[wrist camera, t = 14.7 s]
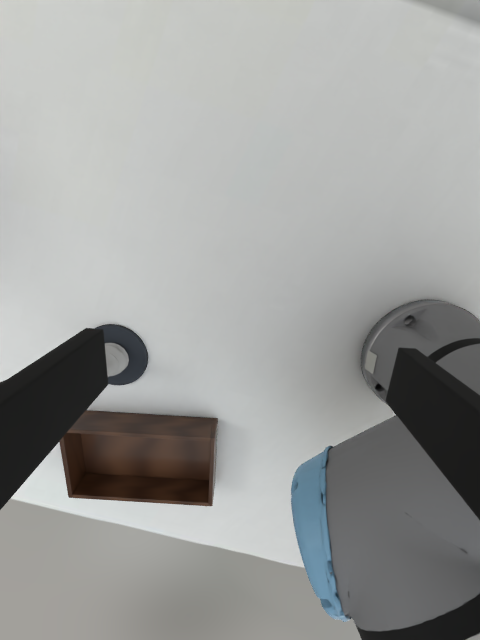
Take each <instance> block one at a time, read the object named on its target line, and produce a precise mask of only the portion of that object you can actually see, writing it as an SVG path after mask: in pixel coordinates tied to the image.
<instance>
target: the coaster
mask: <svg viewBox="0 0 480 640" xmlns="http://www.w3.org/2000/svg"><path fill="white" fill-rule="evenodd" d="M95 329H103V331H104V342H105V343H115V344H118V345H120V346H121V347H122V348H124V349H125V351H126V352H127V354H128V358H129V362H128V366H127V367H126V368H125V369H124V370H123V371H122V372H121V373H119V374H117V375H115V376H109V377H108V384H112V385H125V384H129V383H132V382H134V381H136V380H137V379H138V378H139V377H141V375H142V374H143V373H144V371H145V369H146V367H147V363H148V354H147V350H146V347H145V345H144V343H143V342H142V340H141V339H140V338H139V337H138V336H137V335H136V334H135V333H134V332H133V331H131V330H129V329H128V328H125V327H123V326H119V325H111V324H109V325H102V326H99V327H97V328H95Z"/></svg>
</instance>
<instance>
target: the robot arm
mask: <svg viewBox="0 0 480 640" xmlns="http://www.w3.org/2000/svg"><path fill="white" fill-rule="evenodd" d="M361 366H362V372H363V375H364V378H365V380H366V382H367V383H368V385H369V386H370V387H371V389H372V390H373V391H374V393H375V394H376V395H377V396H378V397H379V398H380V399H381V400H382V401H384V402H385V403H387V404H388V405H389V406H390V408H391V409H392V410H393V411H394V413H395V414H396V416H394V417H392V418H390V419H388V420H386V421H384V422H382V423H380V424H378V425H376V426H374V427H372V428H370V429H368V430H366V431H364V432H362V433H360V434H358V435H356V436H354V437H352V438H350V439H348V440H346V441H344V442H342V443H340V444H338V445H336V446H334V447H333V446H329V447H327V448H325V450H324V452H322V453H320V454H319V455H317V456H315V457H313V458H312V459H310V460H308V461H306V462H305V463H303V464H302V465H301V466H300V467H299V468H298V469H297V470H296V472H295V475H294V477H293V481H292V488H291V495H292V498H291V504H292V514H293V521H294V527H295V532H296V537H297V541H298V545H299V549H300V553H301V556H302V560H303V563H304V566H305V569H306V572H307V575H308V578H309V580H310V583H311V585H312V587H313V590H314V592H315V594H316V595H317V597H319V598H320V600H321V604H322V607H323V608H324V610H325V611H326V612H327V614H328V615H329V616H331V617H332V618H333V619H339V620H342V621H343V622H344V621H348V620H350V619H351V618H352V619H353V620H354V622H355V624H356V627H357V629H358V631H359V633H360V636H361V638H362V640H480V321H479V320H478V319H477V318H476V317H475V316H474V315H473V314H471V313H470V312H468V311H467V310H465V309H463V308H460V307H458V306H455V305H453V304H450V303H447V302H444V301H438V300H421V301H416V302H412V303H408V304H405V305H403V306H401V307H399V308H397V309H395V310H393V311H391V312H390V313H389V314H387V315H386V316H385V317H383V318H382V319H381V320H380V321H379V322H378V323H377V324H376V325H375V326H374V328H373V329H372V330H371V332H370V333H369V335H368V337H367V339H366V341H365V344H364V346H363V350H362V356H361ZM107 385H108V375H107V364H106V353H105V342H104V331H103V329H90V328H86V329H84V330H83V331H81V332H80V333H78V334H76V335H75V336H73V337H72V338H70V339H69V340H67V341H66V342H64V343H63V344H61V345H60V346H58V347H57V348H55V349H53V350H52V351H50V352H49V353H47V354H46V355H44V356H43V357H41V358H40V359H38V360H37V361H35V362H34V363H32V364H30V365H29V366H27V367H26V368H24V369H23V370H21V371H20V372H18V373H17V374H15V375H14V376H12V377H11V378H9V379H7V380H5V381H3V382H0V509H1V508H2V507H3V506H4V505H5V504H6V503H7V502H8V500H9V499H10V498H11V497H12V496H13V495H14V493H15V492H16V491H17V490H18V489H19V488H20V486H21V485H22V484H23V483H24V482H25V481H26V479H27V478H28V477H29V476H30V475H31V474H32V472H33V471H34V470H35V469H36V468H37V467H38V465H39V464H40V463H41V462H42V461H43V460H44V458H45V457H46V456H47V455H48V454H49V453H50V451H51V450H52V449H53V448H54V447H55V446H56V444H57V443H58V442H59V441H60V440H61V439H62V437H63V436H64V435H65V434H66V433H67V432H68V430H69V429H70V428H71V427H72V426H73V425H74V423H75V422H76V421H77V420H78V419H79V418H80V416H81V415H82V414H83V413H84V412H85V411H86V410H87V408H88V407H89V406H90V405H91V404H92V403H93V401H94V400H95V399H96V398H97V397H98V396H99V394H100V393H101V392H102V391H103V390H104V389H105V387H106V386H107Z"/></svg>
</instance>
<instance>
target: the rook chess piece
mask: <svg viewBox="0 0 480 640" xmlns="http://www.w3.org/2000/svg"><path fill="white" fill-rule="evenodd" d="M105 353H106V364H107V375H108V377H109V376H115V375H117V374H119V373H121V372H122V371H123V370H124V369H125V368H126V367H127V366H128V362H129V358H128V354H127V352H126V351H125V349H124V348H122V347H121V346H120V345H118V344H115V343H105Z"/></svg>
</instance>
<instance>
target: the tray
mask: <svg viewBox="0 0 480 640" xmlns="http://www.w3.org/2000/svg"><path fill="white" fill-rule="evenodd" d="M217 424H218V418H201V417H185V416H169V415H152V414H136V413H120V412H103V411H87V410H86V411H85V412H84V413H83V414H82V415H81V416H80V418H79V419H78V420H77V421H76V422H75V423H74V425H73V426H72V427H71V428H70V429H69V430H68V432H67V433H66V434H65V435H64V436H63V437H62V439H61V440H60V447H61V453H62V459H63V466H64V472H65V478H66V484H67V490H68V496H69V498H85V499H101V500H118V501H134V502H151V503H167V504H183V505H200V506H212V504H213V496H214V487H215V472H216V448H217Z"/></svg>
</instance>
